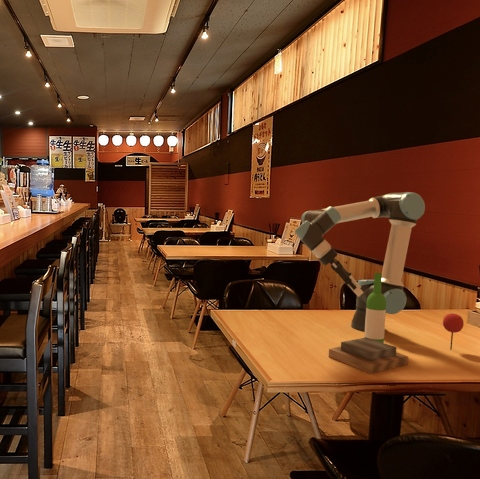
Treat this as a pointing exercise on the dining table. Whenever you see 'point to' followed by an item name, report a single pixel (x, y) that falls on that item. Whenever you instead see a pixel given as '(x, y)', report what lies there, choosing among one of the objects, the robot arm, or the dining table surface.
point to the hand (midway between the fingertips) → (359, 291)
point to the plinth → (368, 363)
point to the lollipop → (453, 324)
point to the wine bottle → (375, 312)
